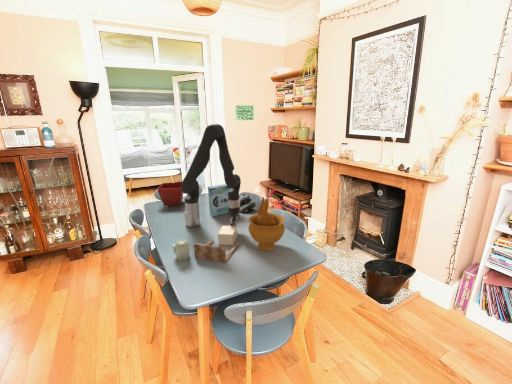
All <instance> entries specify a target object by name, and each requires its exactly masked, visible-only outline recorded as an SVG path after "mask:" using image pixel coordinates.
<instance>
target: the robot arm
mask: <svg viewBox="0 0 512 384" xmlns="http://www.w3.org/2000/svg"><path fill="white" fill-rule="evenodd" d="M226 137H227V136H226V133H225V129H224V127H223V126H222V124H219V123H218V124H217V123H213V124H208V126H206V127H205V129H204V132H203V135H202V139H201V142H200V144H199V146H198V149H197V151H196V153H195V155H194V157H193V159H192V162H191V164H190V166H189V169H188V171H187V172H186V175H185V176H184V178H183V179H182V183H181V190H182V192H183V194H185V196H184V207H185V212H184V221H185V226H186V227H189V228H195V227H198V226H200V225H201V221H200V220H201V218H200V207H199V206H200V205H199V197H200V185H199V181H198V180H197V179H198V178H199V176H200V175H201V174H203V172H204V171H205V170H206V168H207V166H208V164H209V162H210V159H211V148H212V146H213V145H214V143H215V141H216V144H217V146H218V154H219V155H218V156H219V163H220V165H221V168H222V171H223V178H224V182H225V183H224V184H226V185H227V186H228V187H230V190H229V191H228V213H227V214H229V215H230V216H229V217H230V218H229V219H228V223H229V224H230V225H229V226H237V225H238V224H239V219H240V213H241V212H240V201H239V197H240V190H241V183H242V181H241V176H240V175H238V174H237V173H235V174H234V170H235V166H234V163H233V160H232V158H231V155H230V151H229V147H228V146H229V145H228V142H227V138H226ZM237 227H238V226H237Z"/></svg>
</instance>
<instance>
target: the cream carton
mask: <svg viewBox="0 0 512 384" xmlns="http://www.w3.org/2000/svg"><path fill="white" fill-rule="evenodd" d="M237 227H238V226H231V225H222V226H221V228H220V229H219V232H218V233H217V244H218V245H222V246H223V245H225V246H226V245H229V246H234V245H235V244H234V243H235V241H236V239H237V236H238V229H237Z"/></svg>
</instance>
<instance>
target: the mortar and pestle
mask: <svg viewBox="0 0 512 384" xmlns="http://www.w3.org/2000/svg"><path fill="white" fill-rule="evenodd" d="M269 206H270V204H269V200H268V199H267V198H265V197H264V196H263V197H261V202H260V204H259V206H258V211H257V213H256V214H252V215H251V216H250V217H249V218H248V222H249V225H248V233H249V234H250V237H251V238H252V239H253V240H254V241H255V242H257V243H258V244H257V248H258V249H260V250H262V251H272V250H274V249H275V248H276V244H275V243H277V242H278V241H280V240H281V238H282V237H283V235H284V233H285V231H286V226H285V224H284V222H285V217H283V216H282V215H280V214H278V213H271V212H269V211H268V210H269Z"/></svg>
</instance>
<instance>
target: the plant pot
mask: <svg viewBox="0 0 512 384" xmlns="http://www.w3.org/2000/svg"><path fill="white" fill-rule="evenodd" d="M181 183H182V182H163V183H161V184H160V185H159V186H158V187H157V193H158V195H159V198H160V200H161V202H162V204H163V206H164V207H173V206H175V207H177V206H181V204H182V201H183V198H184V193H183V192H182V190H181Z"/></svg>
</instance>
